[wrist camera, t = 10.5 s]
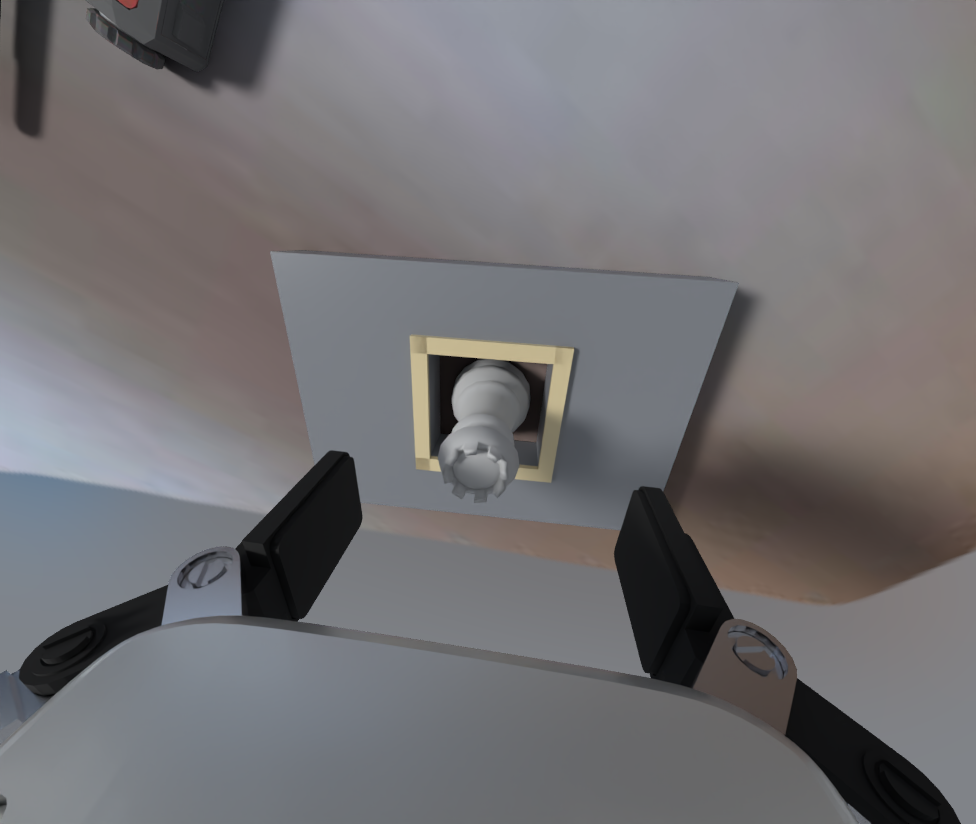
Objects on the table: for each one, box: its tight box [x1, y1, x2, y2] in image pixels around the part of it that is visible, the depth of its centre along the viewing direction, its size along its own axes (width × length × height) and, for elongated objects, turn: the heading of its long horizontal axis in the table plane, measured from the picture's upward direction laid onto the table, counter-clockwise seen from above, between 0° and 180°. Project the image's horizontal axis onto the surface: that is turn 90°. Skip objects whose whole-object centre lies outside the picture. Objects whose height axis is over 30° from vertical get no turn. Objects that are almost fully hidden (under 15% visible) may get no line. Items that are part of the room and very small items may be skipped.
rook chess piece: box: [438, 359, 531, 503], centre depth 16 cm, size 4×4×8 cm
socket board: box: [270, 250, 739, 530], centre depth 19 cm, size 20×14×3 cm
